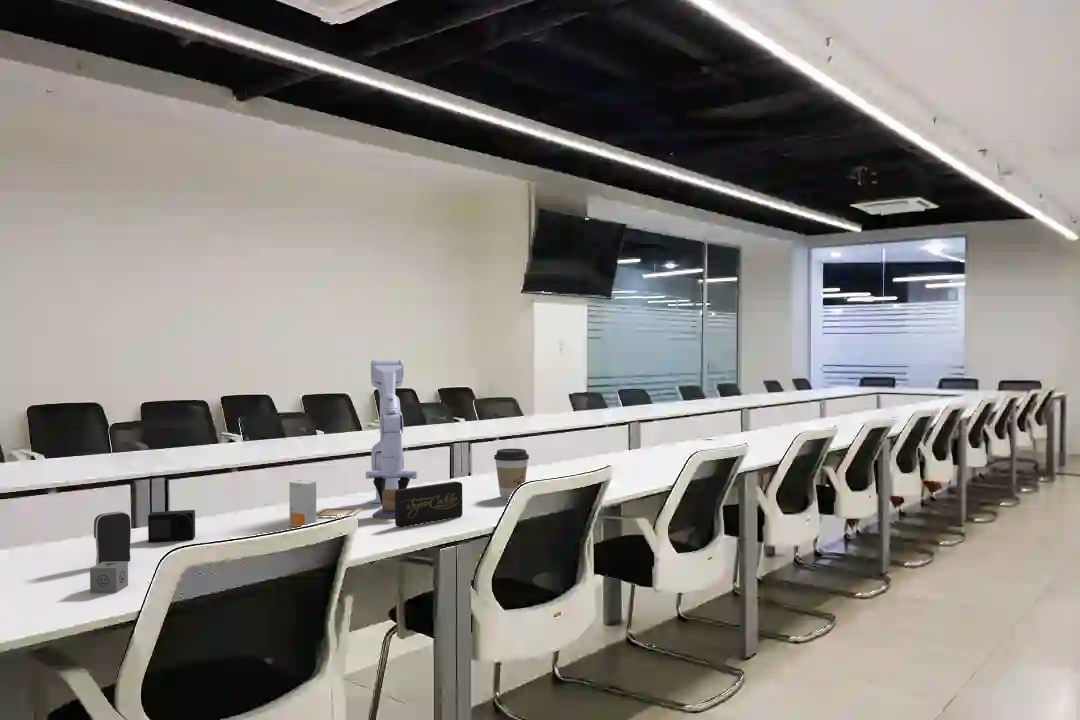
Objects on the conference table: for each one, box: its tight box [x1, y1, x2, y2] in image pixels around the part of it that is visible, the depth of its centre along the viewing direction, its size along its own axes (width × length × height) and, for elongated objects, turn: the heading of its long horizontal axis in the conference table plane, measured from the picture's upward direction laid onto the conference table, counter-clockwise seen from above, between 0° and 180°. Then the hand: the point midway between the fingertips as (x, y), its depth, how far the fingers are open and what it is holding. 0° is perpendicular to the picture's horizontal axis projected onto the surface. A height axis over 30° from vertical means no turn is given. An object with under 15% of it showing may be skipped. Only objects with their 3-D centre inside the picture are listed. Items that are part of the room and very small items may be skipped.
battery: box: [93, 511, 132, 565], centre depth 182 cm, size 7×4×11 cm, turn 137°
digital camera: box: [147, 509, 196, 544], centre depth 205 cm, size 10×5×7 cm, turn 106°
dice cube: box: [89, 561, 129, 594], centre depth 163 cm, size 5×5×5 cm
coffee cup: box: [493, 448, 530, 500], centre depth 261 cm, size 11×11×15 cm
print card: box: [316, 507, 363, 517], centre depth 236 cm, size 12×12×1 cm
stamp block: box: [381, 488, 399, 512], centre depth 234 cm, size 4×4×6 cm
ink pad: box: [371, 507, 395, 519], centre depth 234 cm, size 9×9×1 cm
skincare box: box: [289, 479, 317, 528], centre depth 220 cm, size 6×4×12 cm
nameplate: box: [394, 481, 463, 528], centre depth 225 cm, size 21×2×10 cm, turn 132°
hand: (391, 503), depth 234 cm, fingers closed on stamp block, 4 cm apart
